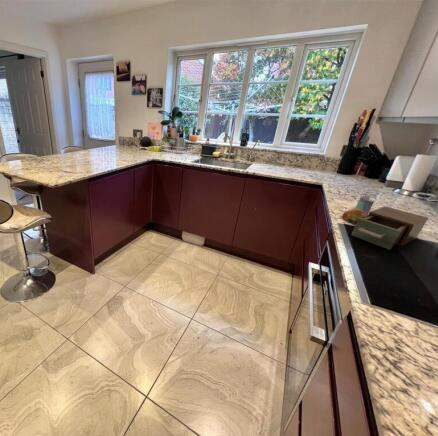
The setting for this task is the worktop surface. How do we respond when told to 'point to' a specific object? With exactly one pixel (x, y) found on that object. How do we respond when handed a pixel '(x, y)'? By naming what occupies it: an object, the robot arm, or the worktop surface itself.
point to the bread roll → (354, 215)
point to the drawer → (380, 231)
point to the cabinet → (402, 221)
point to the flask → (364, 203)
